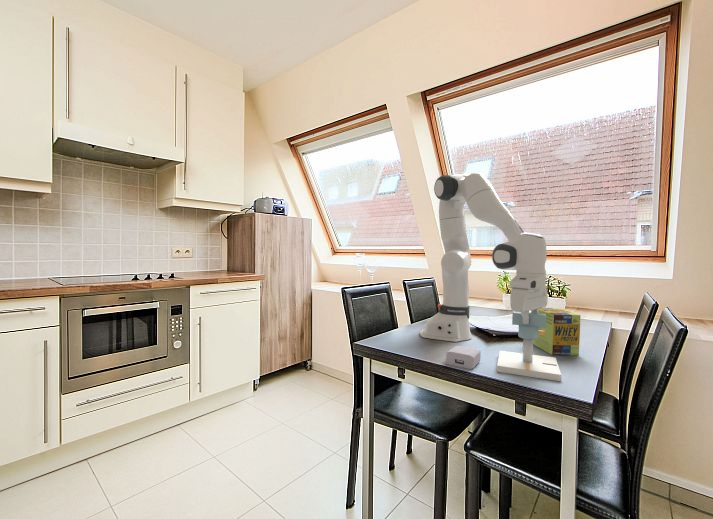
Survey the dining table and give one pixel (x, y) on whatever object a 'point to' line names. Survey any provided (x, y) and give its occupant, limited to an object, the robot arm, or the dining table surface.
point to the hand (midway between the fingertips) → (529, 322)
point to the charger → (463, 357)
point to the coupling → (529, 325)
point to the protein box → (559, 332)
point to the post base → (528, 363)
